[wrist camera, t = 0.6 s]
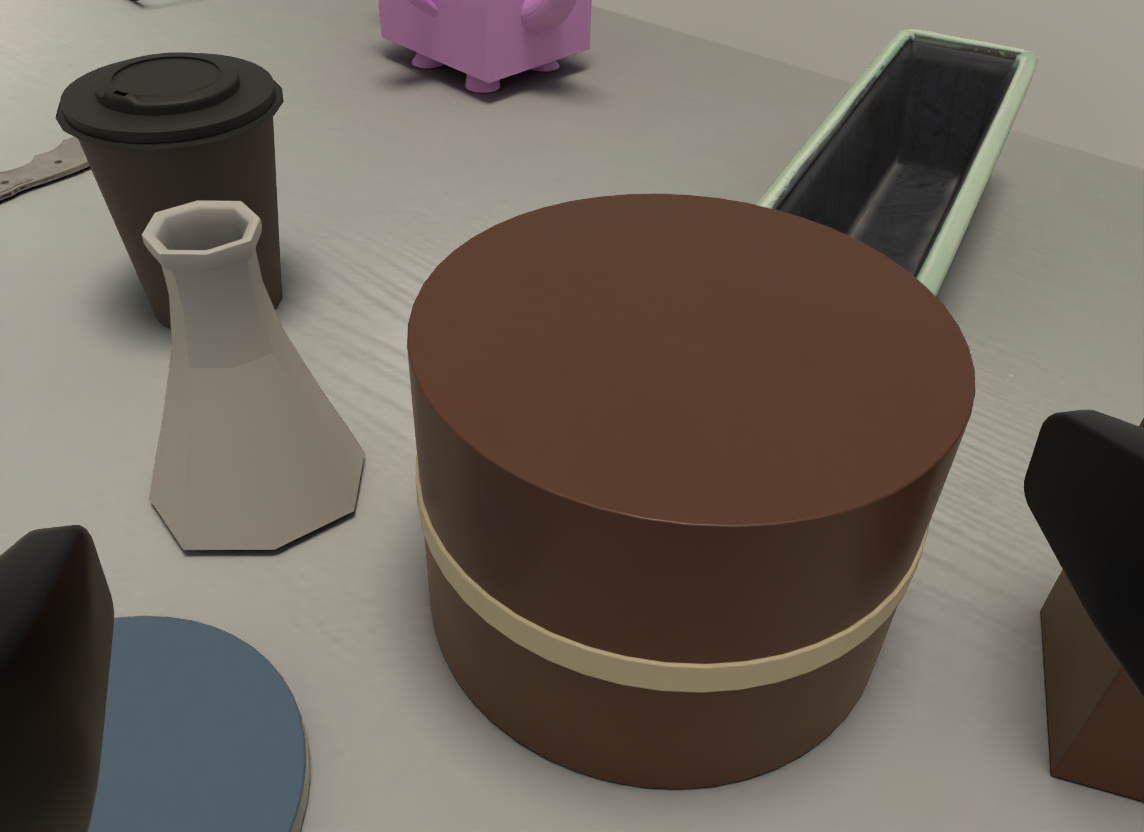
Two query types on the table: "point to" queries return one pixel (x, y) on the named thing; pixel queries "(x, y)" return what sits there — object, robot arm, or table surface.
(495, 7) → the teapot
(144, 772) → the plate
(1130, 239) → the table surface
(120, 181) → the coffee cup
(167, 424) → the flask
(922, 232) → the planter
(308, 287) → the table surface
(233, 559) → the table surface
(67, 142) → the knife
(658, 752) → the cake
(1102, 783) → the cake slice
